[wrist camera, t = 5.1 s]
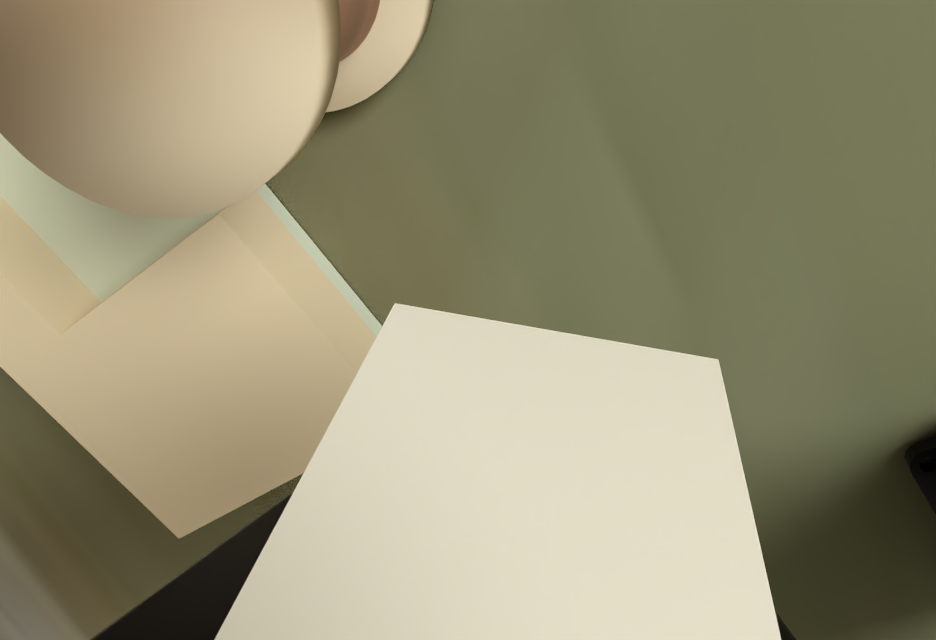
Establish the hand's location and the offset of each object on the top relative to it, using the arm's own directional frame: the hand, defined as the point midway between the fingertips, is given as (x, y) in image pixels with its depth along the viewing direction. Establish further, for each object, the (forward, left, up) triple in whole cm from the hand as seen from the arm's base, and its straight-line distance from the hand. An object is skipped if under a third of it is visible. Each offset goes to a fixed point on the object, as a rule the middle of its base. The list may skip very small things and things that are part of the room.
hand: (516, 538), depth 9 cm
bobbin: (+8, +2, -12) cm, 15 cm away
